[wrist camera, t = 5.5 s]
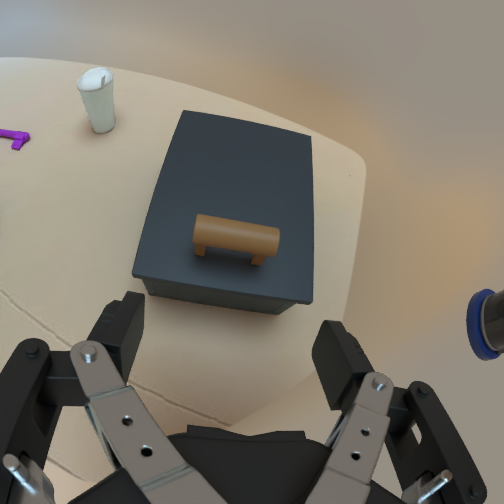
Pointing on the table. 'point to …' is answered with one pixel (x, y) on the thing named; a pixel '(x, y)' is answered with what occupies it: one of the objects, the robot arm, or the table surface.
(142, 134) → the table surface
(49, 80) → the table surface
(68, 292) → the table surface
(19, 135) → the purple yellow rod
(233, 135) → the lid
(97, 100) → the milkshake
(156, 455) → the robot arm
